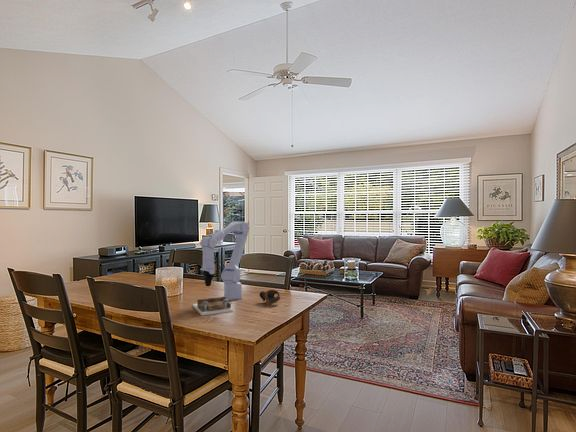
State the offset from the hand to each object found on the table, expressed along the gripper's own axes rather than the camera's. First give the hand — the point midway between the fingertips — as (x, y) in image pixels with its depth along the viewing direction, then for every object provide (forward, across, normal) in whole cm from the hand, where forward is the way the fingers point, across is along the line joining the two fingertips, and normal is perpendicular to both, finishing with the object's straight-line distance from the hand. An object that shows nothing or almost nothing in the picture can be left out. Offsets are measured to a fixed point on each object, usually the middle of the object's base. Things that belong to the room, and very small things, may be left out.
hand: (208, 285), depth 175 cm
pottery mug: (+10, +11, +30) cm, 34 cm away
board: (+10, +8, 0) cm, 13 cm away
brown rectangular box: (+8, +11, 0) cm, 14 cm away
